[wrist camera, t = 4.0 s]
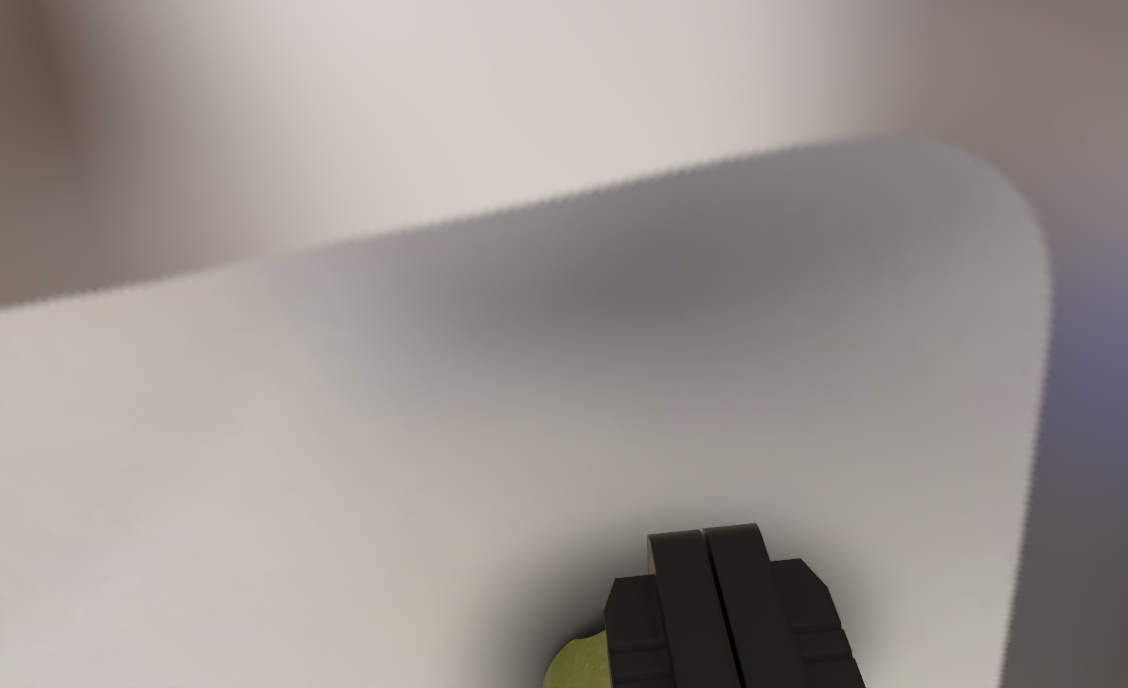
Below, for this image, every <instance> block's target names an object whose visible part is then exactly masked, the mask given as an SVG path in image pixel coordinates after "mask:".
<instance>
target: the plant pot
mask: <svg viewBox="0 0 1128 688" xmlns="http://www.w3.org/2000/svg"><path fill="white" fill-rule="evenodd" d="M542 688H611V685H610V676H609V665H608V655H607V644H606V633H605V630H604V631H602V632H600V633H598V634H596V635H594V636H591V637H589V638H584V639H574V640H572V641H570V642H569V643H568V644H566V645H565V646H564V647H563V648H562V649H561V650H560V652H559V653H558V654H557V655H556V656H555V658H554V659H553V660H552V662H551V664H550V666H549V668H548V669H547V672H546V674H545V677H544V680H543V686H542Z"/></svg>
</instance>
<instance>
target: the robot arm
mask: <svg viewBox="0 0 1128 688" xmlns="http://www.w3.org/2000/svg"><path fill="white" fill-rule="evenodd" d="M647 550H648V573H649V575H642V576H633V577H623V578H615V580H614V583H613V586H612V589H611V591H610V594H609V597H608V600H607V603H606V606H605V609H604V622H605V633H606V644H607V655H608V665H609V676H610V685H611V688H866V687H865V684H864V682H863V679H862V676H861V674H860V671H859V668H858V666H857V663H856V661H855V659H853V656H852V650H851V648H850V645H849V642H848V640H847V637H846V634H845V632H844V629H842V627H841V621H840V619H839V616H838V614H837V611H836V608H835V606H834V603H833V600H832V598H831V595H830V593H829V590H828V587H827V586H826V585H825V584H824V583H823V582H822V581H821V580H820V579H819V578H818V577H817V576H816V574H815V573H814V572H813V571H812V570H811V569H810V568H809V567H808V566H807V565H806V564H805V563H804V562H803V561H802V559H801V558H800V559H790V560H781V561H772V562H770V559H769V556H768V553H767V550H766V547H765V544H764V541H763V538H762V535H761V532H760V530H759V527H758V526H757V524H756V523H752V524H742V525H733V526H723V527H714V528H704V529H703V530H702V533H701V531H700V530H699V529H697V530H688V531H679V532H669V533H660V534H650V535H647Z"/></svg>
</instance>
